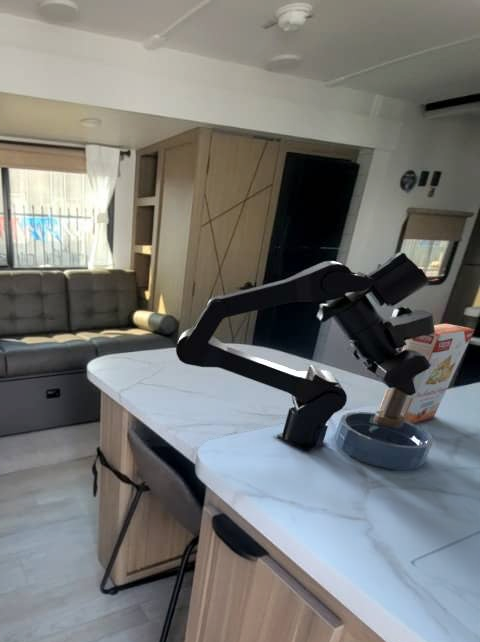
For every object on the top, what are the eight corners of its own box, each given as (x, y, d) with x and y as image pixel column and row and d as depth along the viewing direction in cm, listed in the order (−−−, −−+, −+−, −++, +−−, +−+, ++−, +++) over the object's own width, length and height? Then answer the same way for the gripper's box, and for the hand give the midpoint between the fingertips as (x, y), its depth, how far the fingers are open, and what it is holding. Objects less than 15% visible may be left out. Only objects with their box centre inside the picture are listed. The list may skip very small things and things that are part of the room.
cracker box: (402, 429, 87) (442, 334, 78) (374, 418, 92) (408, 327, 83) (436, 418, 93) (477, 328, 84) (408, 408, 98) (444, 321, 89)
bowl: (319, 444, 80) (326, 421, 78) (356, 427, 88) (364, 406, 85) (400, 481, 69) (411, 456, 67) (435, 458, 77) (446, 435, 75)
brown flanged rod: (392, 430, 73) (415, 372, 68) (367, 419, 77) (388, 364, 72) (407, 426, 75) (431, 369, 70) (383, 415, 79) (404, 361, 74)
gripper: (440, 302, 58) (493, 383, 61) (387, 285, 75) (430, 349, 77) (362, 350, 63) (415, 422, 66) (328, 324, 79) (371, 383, 82)
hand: (408, 391), depth 73 cm, fingers closed on brown flanged rod, 2 cm apart
